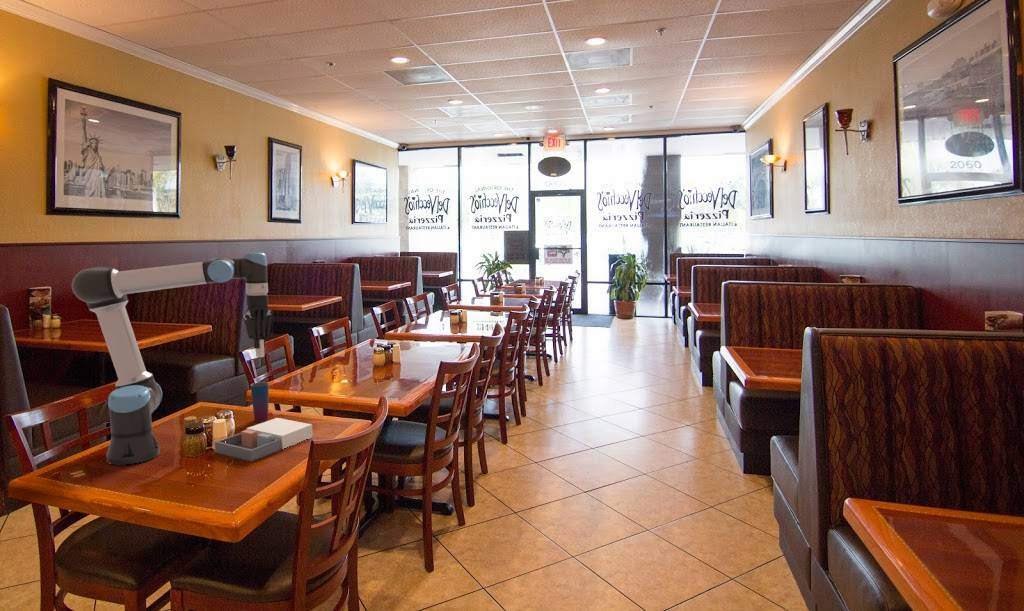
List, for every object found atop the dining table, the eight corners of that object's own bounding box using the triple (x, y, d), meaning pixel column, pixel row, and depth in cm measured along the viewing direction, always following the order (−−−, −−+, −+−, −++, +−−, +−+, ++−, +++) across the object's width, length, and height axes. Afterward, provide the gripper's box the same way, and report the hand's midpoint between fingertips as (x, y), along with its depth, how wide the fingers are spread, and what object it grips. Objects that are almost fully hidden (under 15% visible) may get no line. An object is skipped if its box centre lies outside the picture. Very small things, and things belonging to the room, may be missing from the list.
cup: (252, 418, 240) (250, 383, 238) (270, 416, 243) (268, 381, 241) (252, 423, 234) (250, 387, 232) (270, 421, 237) (269, 385, 235)
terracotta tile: (247, 442, 211) (241, 445, 209) (247, 429, 210) (241, 431, 208) (257, 445, 209) (251, 447, 206) (256, 431, 208) (250, 433, 206)
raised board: (247, 441, 214) (246, 428, 213) (277, 430, 226) (277, 417, 226) (282, 449, 206) (282, 435, 205) (312, 437, 218) (312, 424, 218)
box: (215, 453, 202) (214, 442, 202) (244, 442, 213) (244, 431, 212) (251, 462, 194) (251, 450, 194) (280, 450, 205) (280, 439, 204)
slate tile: (263, 446, 207) (257, 448, 205) (262, 433, 207) (256, 435, 204) (273, 449, 205) (267, 451, 203) (272, 435, 204) (266, 437, 202)
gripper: (249, 296, 210) (252, 360, 213) (278, 293, 222) (281, 354, 225) (235, 295, 214) (238, 358, 216) (264, 292, 225) (267, 352, 228)
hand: (260, 356), depth 220 cm, fingers closed
